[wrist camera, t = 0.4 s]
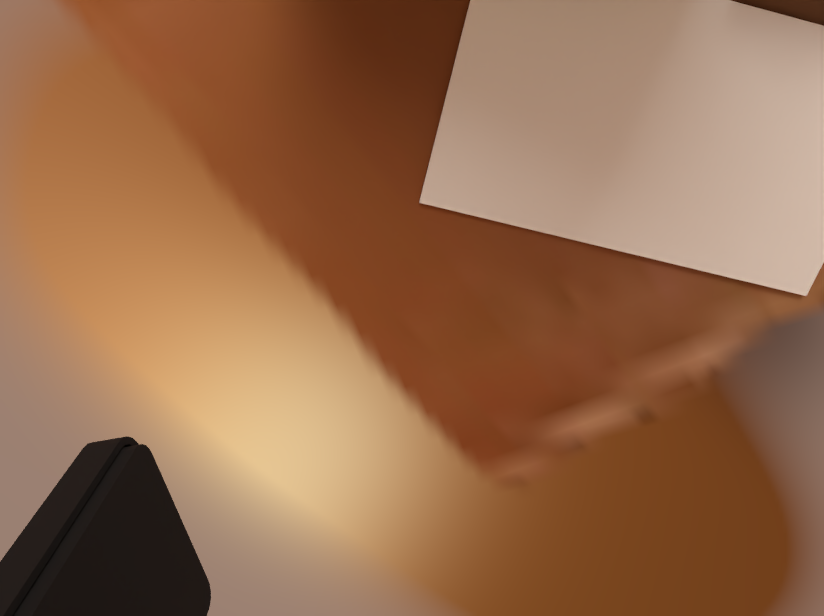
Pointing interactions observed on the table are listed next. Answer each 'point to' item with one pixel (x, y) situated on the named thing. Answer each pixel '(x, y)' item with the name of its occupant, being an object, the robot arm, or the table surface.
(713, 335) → the table surface
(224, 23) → the table surface
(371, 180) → the table surface
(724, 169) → the paper sheet
